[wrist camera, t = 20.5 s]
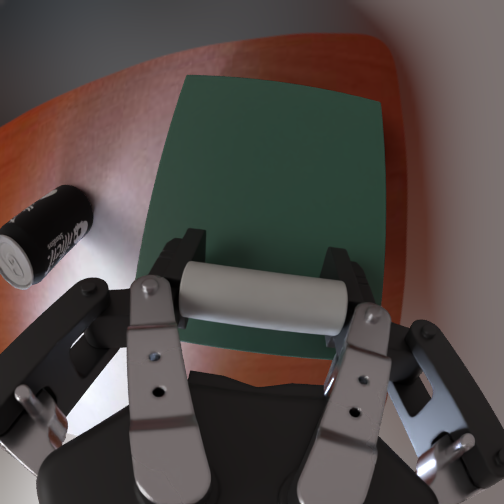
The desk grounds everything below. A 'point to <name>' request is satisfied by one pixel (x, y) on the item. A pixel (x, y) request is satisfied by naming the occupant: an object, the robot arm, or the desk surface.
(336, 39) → the desk surface
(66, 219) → the beverage can
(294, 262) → the lid
